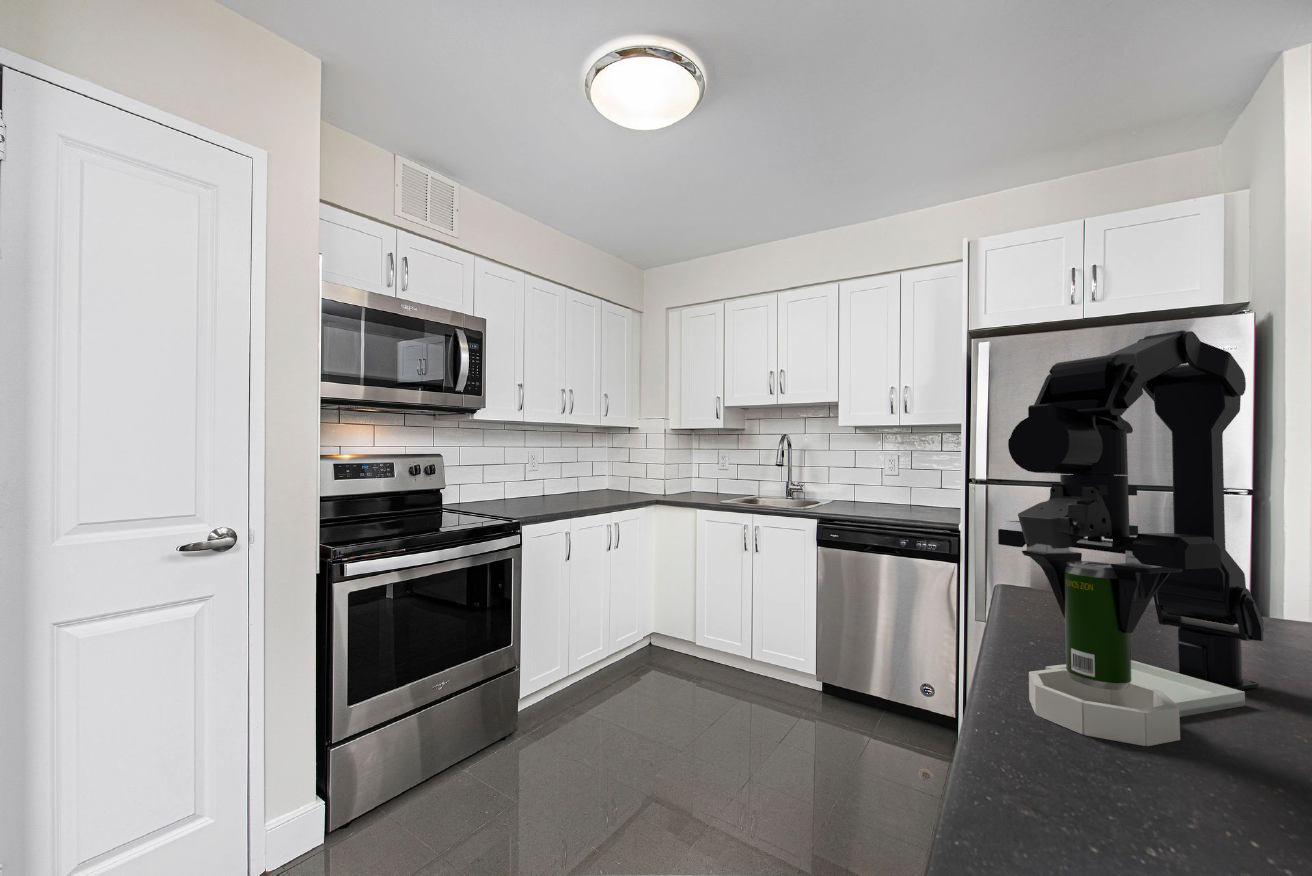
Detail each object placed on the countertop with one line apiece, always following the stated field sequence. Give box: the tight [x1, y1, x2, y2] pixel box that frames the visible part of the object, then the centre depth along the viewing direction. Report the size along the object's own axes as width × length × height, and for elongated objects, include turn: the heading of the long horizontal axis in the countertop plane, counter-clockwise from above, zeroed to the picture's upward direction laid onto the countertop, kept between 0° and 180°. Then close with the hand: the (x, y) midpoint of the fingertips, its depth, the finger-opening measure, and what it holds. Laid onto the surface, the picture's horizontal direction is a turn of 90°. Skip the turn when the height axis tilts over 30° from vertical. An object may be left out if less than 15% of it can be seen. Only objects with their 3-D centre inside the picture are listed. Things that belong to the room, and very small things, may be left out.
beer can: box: [1064, 560, 1132, 690], centre depth 60 cm, size 5×5×12 cm
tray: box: [1045, 659, 1246, 718], centre depth 68 cm, size 14×12×2 cm
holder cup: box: [1028, 668, 1181, 747], centre depth 60 cm, size 12×12×3 cm
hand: (1096, 625), depth 60 cm, fingers closed on beer can, 5 cm apart
